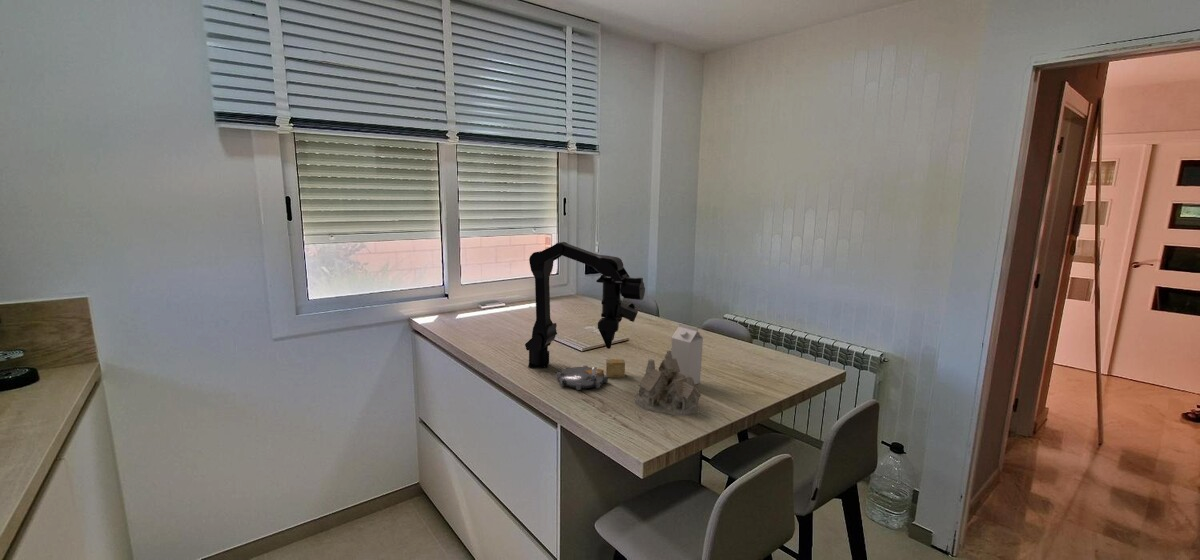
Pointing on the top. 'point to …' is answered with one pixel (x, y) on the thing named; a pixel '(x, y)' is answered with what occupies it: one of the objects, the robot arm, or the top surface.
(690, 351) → the milk carton
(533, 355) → the robot arm
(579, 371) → the sprocket
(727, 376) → the top surface
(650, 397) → the ceramic cottage
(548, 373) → the top surface
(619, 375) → the orange banded block
